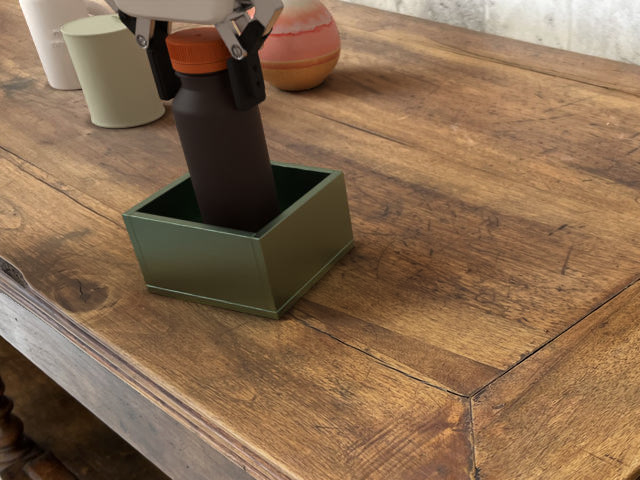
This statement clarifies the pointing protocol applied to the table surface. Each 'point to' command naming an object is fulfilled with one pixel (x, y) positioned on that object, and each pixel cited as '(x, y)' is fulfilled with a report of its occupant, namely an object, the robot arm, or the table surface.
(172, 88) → the robot arm
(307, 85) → the vase
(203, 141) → the vinegar
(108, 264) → the table surface
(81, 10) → the mug
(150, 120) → the can
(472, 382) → the table surface
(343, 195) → the green open box
